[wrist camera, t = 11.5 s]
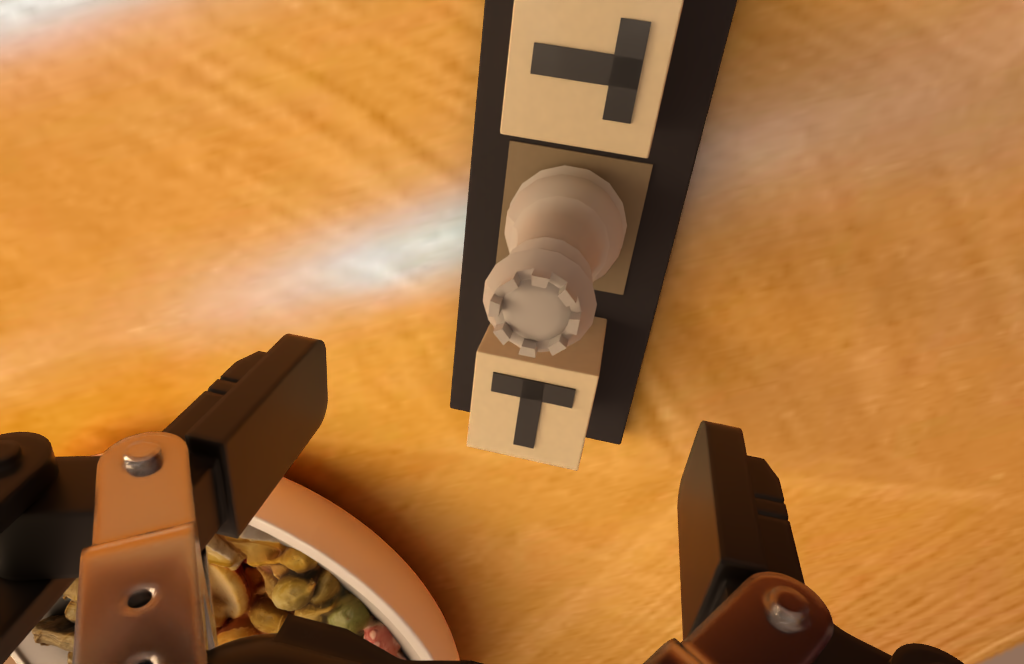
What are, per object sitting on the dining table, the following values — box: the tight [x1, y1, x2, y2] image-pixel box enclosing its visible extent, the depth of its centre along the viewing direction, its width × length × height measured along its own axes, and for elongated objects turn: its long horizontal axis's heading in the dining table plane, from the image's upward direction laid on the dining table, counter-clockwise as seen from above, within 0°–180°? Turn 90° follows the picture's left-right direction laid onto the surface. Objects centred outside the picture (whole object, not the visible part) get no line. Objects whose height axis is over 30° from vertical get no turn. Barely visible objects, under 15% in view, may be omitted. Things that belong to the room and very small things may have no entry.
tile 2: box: [500, 0, 684, 158], centre depth 19 cm, size 4×4×4 cm
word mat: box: [450, 0, 737, 444], centre depth 25 cm, size 20×8×1 cm, turn 173°
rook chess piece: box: [483, 165, 627, 358], centre depth 21 cm, size 4×4×8 cm
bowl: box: [10, 453, 460, 664], centre depth 39 cm, size 30×30×8 cm
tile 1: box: [467, 317, 607, 471], centre depth 26 cm, size 4×4×4 cm
